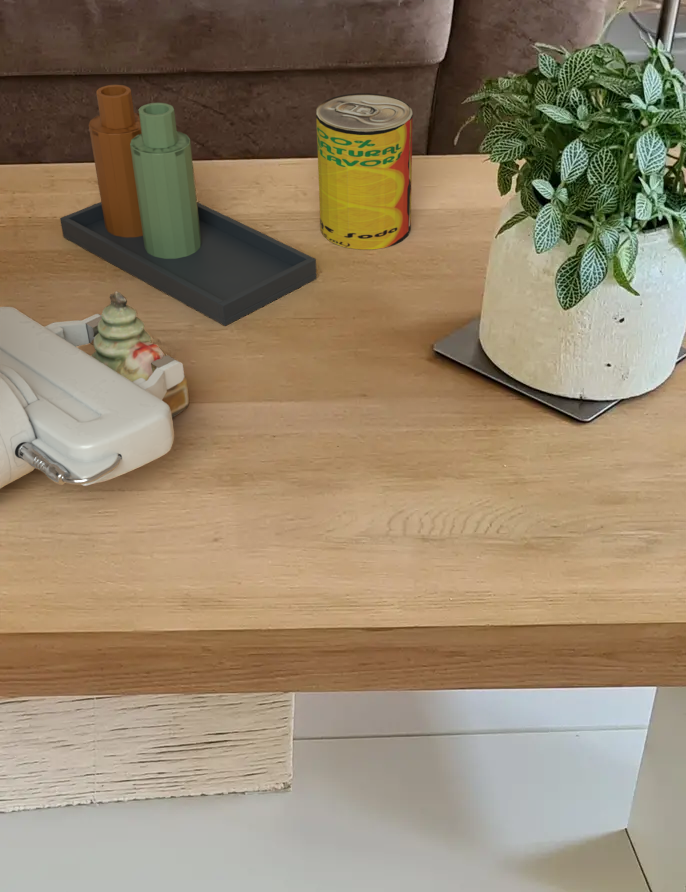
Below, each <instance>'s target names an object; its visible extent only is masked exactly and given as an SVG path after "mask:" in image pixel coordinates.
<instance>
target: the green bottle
mask: <svg viewBox="0 0 686 892" xmlns="http://www.w3.org/2000/svg"><path fill="white" fill-rule="evenodd" d="M137 111H138V114H139V118H140V126H141V133H142V134H139V135H137V136H135V137H134V138H133V139H132V140H131V143H130V147H131V155H132V162H133V169H134V176H135V183H136V190H137V197H138V204H139V211H140V218H141V225H142V232H143V239H144V246H145V249H146V251H147V253H149V254H151V255H153V256H154V257H159V258H164V259H176V258H181V257H186V256H189V255H191V254H193V253H195V252H196V251H197V250H198V249H199V248H200V247H201V235H200V226H199V217H198V207H197V202H198V199H197V191H196V181H195V172H194V171H195V170H194V164H193V163H194V162H193V152H192V145H191V143H192V142H191V139H190V137H189V136H188V135H187V134H186V133H184V132H181V131H177V130H178V129H177V123H176V121H177V120H176V114H175V113H176V112H175V109H174V106H173V105H171V104H169V103H166V102H151V103H147V104H144V105H142V106H140V107H139V109H137Z"/></svg>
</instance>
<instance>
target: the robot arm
mask: <svg viewBox="0 0 686 892" xmlns="http://www.w3.org/2000/svg"><path fill="white" fill-rule="evenodd" d="M101 319H102V314H100V313H95V314H93V315H91V316H89V317H86V318H84V319H82V320H81V319H78V320H66V321H55V322H51V323H49V324H47V325H42V324H41V323H39V322H38V321H36V320H34V319H33V318H31V317H29V316H28V315H26V314H25V313H23V312H21V311H20V310H19V309H17V308H15V307H14V306H0V489H2V488H4V487H5V486H8V485H9V484H11V483H13V482H15V481H16V480H19V479H21V478H22V477H24V476H26V475H28V474H30V473H32V472H33V471H35V469H36V470H38V471H40V472H41V473H43V474H44V475H45V476H46V477H47V478H48V479H49V480H50V481H52V482H53V483H55V484H56V485H60V486H63V485H66V484H69V485H81V486H83V487H87V486H90V485H91V486H92V485H93V484H99V483H104V482H107V481H110V480H113V479H115V478H118V477H120V476H123V475H125V474H127V473H129V472H132V471H134V470H136V469H139V468H141V467H143V466H146V465H148V464H149V463H152V462H154V461H156V460H158V459H159V458H161V457H163V456H165V455H167V454H168V453H169V452H170V451H171V449H172V448H173V444H174V441H175V431H174V430H175V429H174V421H173V417H172V414H171V410H170V407H169V405H168V404H167V403H165V402H164V401H162V399H163V397H164V396H165V394H166V392H167V390H168V389H170V388H171V387H173V386H175V385H177V384H179V383H181V382H182V381H183V379H184V374H185V372H184V371H185V369H184V363H182V362H181V361H179V360H177V359H175V358H174V357H172V356H171V355H167V354H164V356H163V357H162V359H157V360H155V361H154V362H152V363H151V368H152V372H153V373H152V375H151V376H150V377H149V379H148V380H147V381H146V380H145V379H143V378H139V379H137V380H135V381H133V382H132V381H130V380H128V379H127V378H125V377H124V376H122V375H120V374H119V373H117V372H116V371H114V370H112V369H111V368H109V367H108V366H106V365H104V364H103V363H101V362H100V361H98V360H97V359H95V358H93V357H92V356H91V355H90V354H88V353H87V352H85V351H84V350H83V349H80V348H79V347H81V346H86V345H92V346H93V347H94V338H95V336H96V335H97V334H98V333H99V332H98V329H97V327H98V323H99V321H100V320H101Z"/></svg>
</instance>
